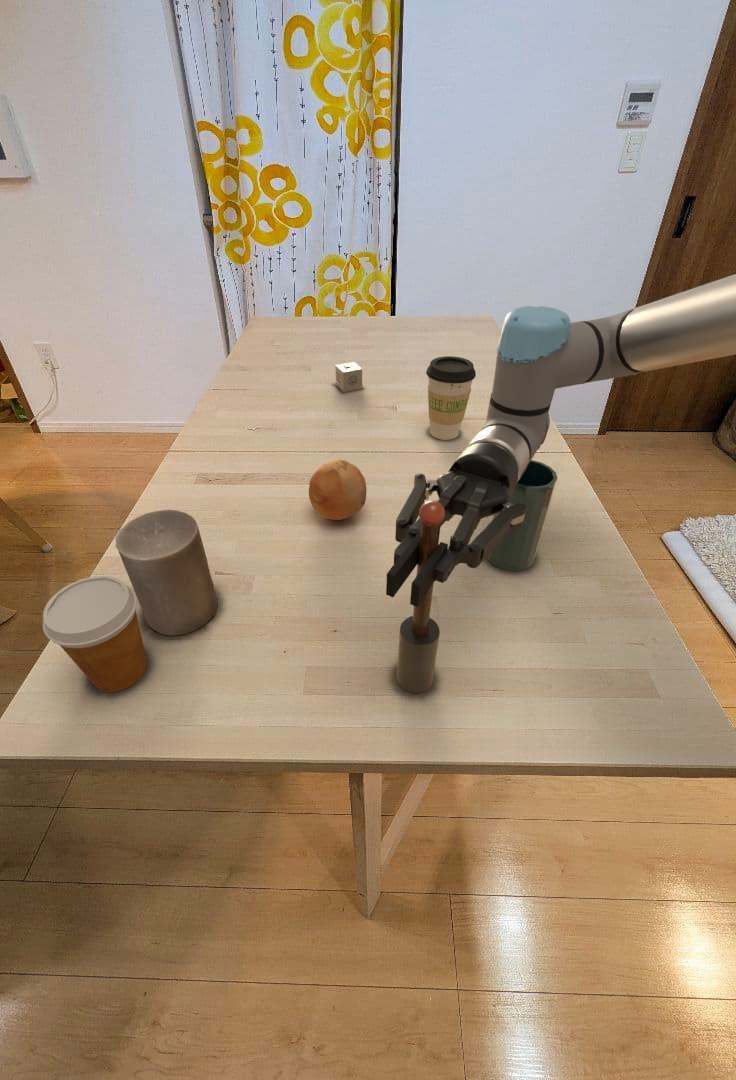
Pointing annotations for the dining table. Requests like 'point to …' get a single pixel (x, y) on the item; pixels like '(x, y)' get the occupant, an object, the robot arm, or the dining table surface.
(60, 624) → the disposable coffee cup
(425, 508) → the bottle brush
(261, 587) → the dining table surface
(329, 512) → the onion
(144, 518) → the pillar candle
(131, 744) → the dining table surface
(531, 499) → the green cylindrical holder
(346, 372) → the dice cube
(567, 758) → the dining table surface
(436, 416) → the coffee cup
